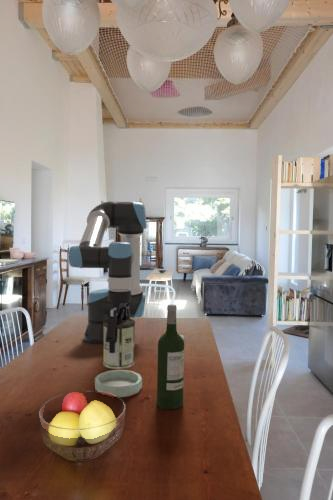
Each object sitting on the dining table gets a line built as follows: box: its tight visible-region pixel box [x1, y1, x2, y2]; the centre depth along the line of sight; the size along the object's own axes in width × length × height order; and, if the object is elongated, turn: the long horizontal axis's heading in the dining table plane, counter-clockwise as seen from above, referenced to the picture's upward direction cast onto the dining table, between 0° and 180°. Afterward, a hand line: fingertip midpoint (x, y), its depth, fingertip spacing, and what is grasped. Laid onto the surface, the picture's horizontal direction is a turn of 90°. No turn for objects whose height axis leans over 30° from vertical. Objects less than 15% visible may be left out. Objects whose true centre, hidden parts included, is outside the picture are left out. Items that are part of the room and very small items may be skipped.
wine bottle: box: [156, 303, 185, 410], centre depth 115 cm, size 8×8×30 cm
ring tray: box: [94, 369, 143, 398], centre depth 127 cm, size 15×15×3 cm
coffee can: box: [102, 318, 136, 370], centre depth 126 cm, size 10×10×14 cm
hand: (118, 356), depth 127 cm, fingers closed on coffee can, 10 cm apart
